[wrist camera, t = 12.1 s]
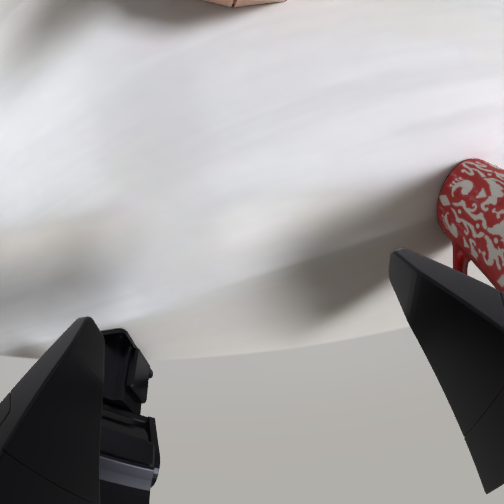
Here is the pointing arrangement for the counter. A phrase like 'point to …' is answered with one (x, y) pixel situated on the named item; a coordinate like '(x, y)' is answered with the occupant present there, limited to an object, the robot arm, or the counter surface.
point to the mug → (475, 218)
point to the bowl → (243, 2)
